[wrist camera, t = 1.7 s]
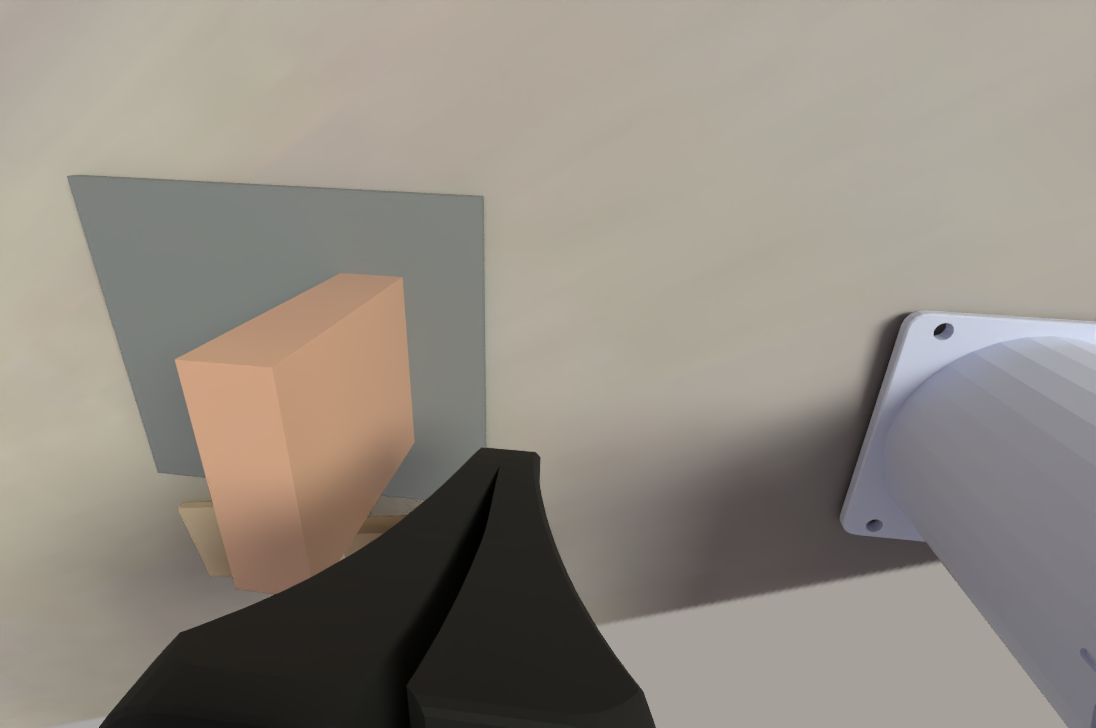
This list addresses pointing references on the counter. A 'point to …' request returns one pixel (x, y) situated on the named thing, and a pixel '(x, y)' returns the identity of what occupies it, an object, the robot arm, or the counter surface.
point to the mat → (290, 293)
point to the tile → (302, 425)
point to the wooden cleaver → (211, 545)
